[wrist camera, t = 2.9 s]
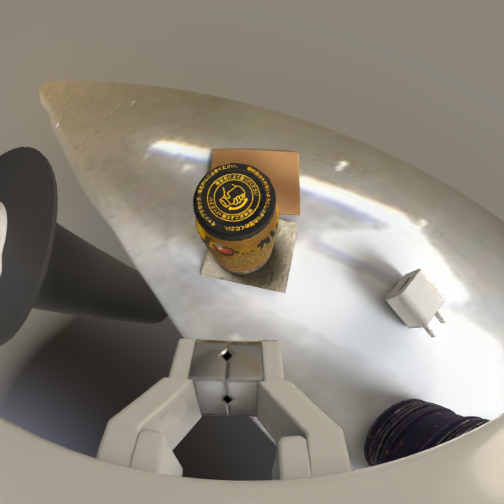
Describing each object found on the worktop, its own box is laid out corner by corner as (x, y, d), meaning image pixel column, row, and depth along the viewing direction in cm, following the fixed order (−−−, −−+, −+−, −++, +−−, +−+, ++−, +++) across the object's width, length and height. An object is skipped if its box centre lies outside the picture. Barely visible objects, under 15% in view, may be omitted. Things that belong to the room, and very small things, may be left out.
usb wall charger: (403, 275, 28) (422, 267, 24) (438, 317, 27) (458, 314, 23) (382, 300, 27) (400, 295, 23) (419, 343, 26) (439, 344, 22)
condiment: (219, 207, 30) (198, 143, 18) (298, 224, 29) (323, 166, 17) (201, 274, 28) (164, 245, 16) (284, 293, 28) (305, 275, 16)
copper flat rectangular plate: (299, 215, 30) (300, 214, 29) (205, 211, 30) (205, 210, 30) (298, 153, 32) (298, 152, 32) (213, 150, 32) (213, 149, 32)
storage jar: (437, 387, 24) (531, 405, 10) (432, 456, 22) (507, 496, 7) (363, 410, 24) (445, 463, 10) (361, 482, 22) (419, 552, 7)
